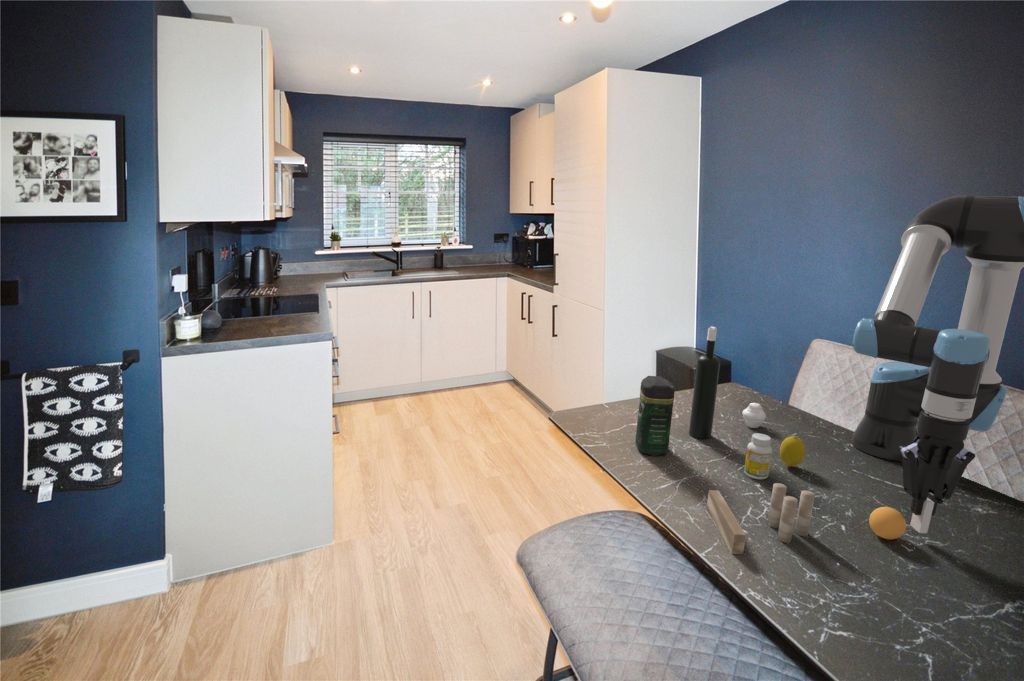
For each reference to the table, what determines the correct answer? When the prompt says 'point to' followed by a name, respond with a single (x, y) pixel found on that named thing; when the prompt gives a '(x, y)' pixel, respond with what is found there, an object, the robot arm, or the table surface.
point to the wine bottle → (705, 390)
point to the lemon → (792, 451)
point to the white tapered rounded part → (753, 415)
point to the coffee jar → (654, 415)
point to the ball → (887, 523)
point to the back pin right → (776, 505)
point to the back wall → (726, 522)
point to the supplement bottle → (758, 457)
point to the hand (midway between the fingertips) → (918, 529)
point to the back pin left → (787, 519)
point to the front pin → (804, 513)
